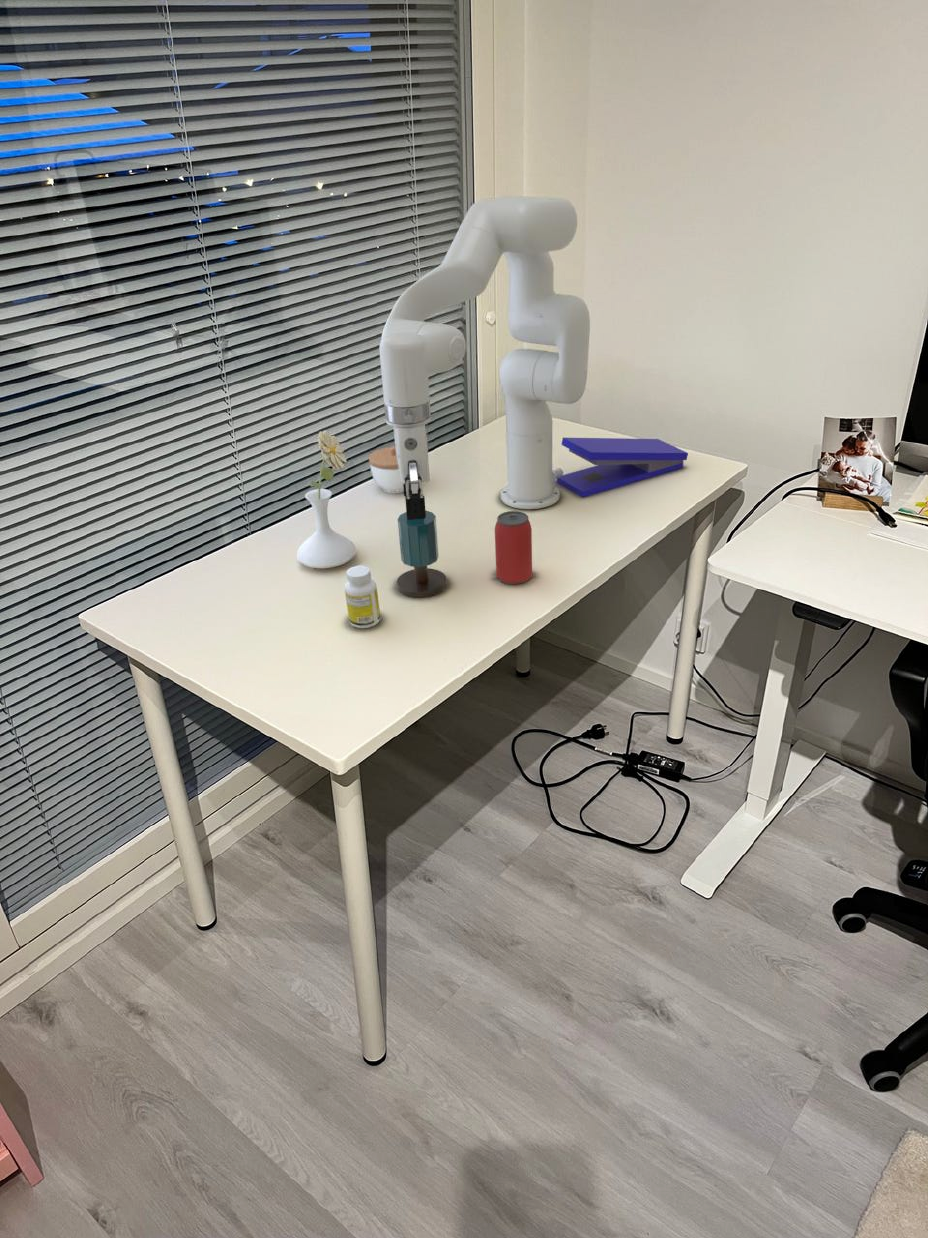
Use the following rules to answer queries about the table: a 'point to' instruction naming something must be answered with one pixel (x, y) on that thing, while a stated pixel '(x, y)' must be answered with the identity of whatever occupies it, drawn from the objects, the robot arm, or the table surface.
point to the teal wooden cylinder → (418, 540)
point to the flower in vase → (325, 515)
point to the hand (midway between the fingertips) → (414, 506)
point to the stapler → (618, 462)
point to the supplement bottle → (361, 598)
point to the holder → (421, 582)
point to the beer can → (513, 547)
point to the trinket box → (386, 470)
